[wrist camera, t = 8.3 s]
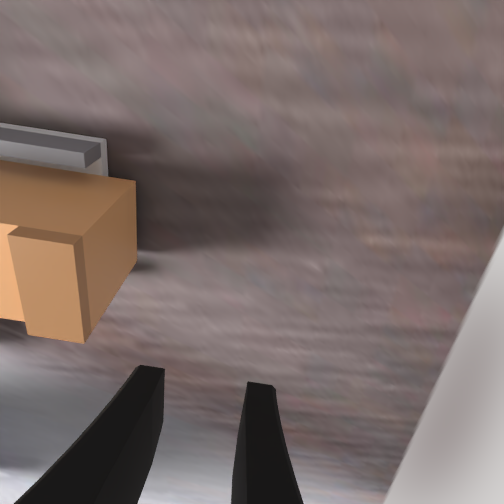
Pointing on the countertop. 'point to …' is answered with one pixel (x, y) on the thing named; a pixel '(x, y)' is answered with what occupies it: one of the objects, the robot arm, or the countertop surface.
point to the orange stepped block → (63, 247)
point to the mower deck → (53, 149)
